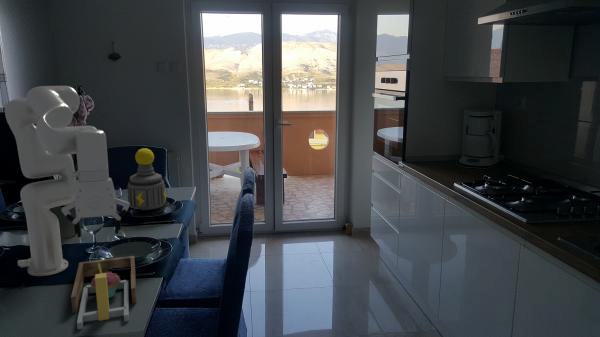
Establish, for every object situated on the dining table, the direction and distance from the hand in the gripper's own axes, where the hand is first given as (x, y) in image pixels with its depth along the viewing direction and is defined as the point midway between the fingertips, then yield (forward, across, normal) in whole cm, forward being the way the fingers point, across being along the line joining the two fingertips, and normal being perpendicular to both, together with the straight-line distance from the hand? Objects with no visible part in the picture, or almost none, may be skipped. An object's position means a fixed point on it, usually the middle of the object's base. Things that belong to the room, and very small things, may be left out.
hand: (98, 234), depth 128 cm
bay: (+25, 0, +15) cm, 29 cm away
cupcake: (+25, 0, +11) cm, 27 cm away
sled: (+24, 0, +4) cm, 25 cm away
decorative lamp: (+26, +15, +106) cm, 110 cm away
